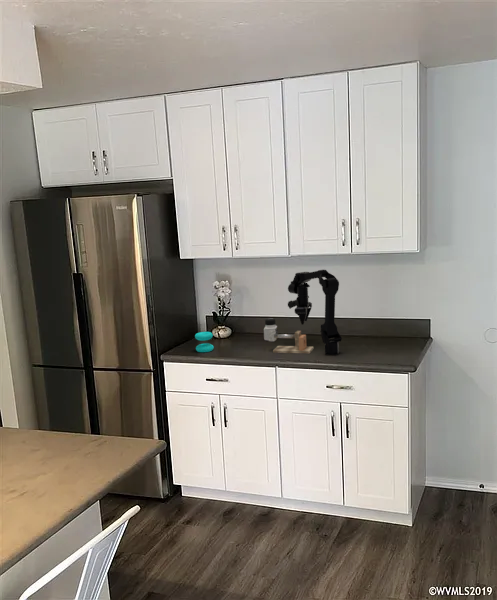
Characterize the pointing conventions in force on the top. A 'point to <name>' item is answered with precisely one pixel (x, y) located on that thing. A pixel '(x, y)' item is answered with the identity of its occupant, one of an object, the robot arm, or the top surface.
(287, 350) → the bracket
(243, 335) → the top surface
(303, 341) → the spacer
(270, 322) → the medicine bottle
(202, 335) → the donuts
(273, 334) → the shaft
